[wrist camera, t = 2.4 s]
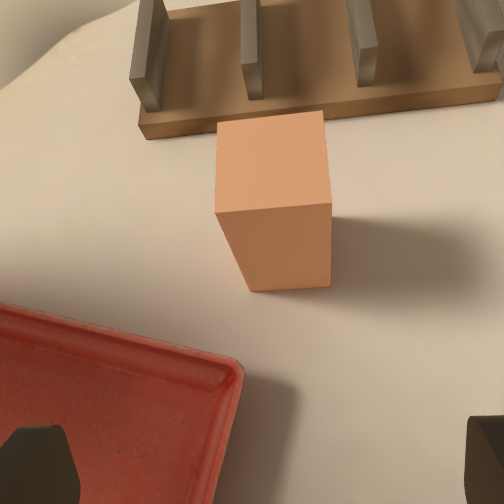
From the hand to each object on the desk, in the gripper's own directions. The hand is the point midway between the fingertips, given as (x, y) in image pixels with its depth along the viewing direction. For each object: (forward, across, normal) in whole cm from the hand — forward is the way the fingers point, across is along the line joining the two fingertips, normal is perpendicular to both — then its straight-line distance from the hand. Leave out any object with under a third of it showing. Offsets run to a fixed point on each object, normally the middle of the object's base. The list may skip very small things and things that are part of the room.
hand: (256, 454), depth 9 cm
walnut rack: (+28, -2, -8) cm, 30 cm away
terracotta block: (+18, 0, +2) cm, 18 cm away
